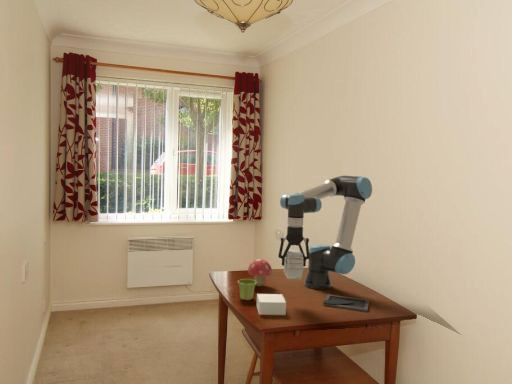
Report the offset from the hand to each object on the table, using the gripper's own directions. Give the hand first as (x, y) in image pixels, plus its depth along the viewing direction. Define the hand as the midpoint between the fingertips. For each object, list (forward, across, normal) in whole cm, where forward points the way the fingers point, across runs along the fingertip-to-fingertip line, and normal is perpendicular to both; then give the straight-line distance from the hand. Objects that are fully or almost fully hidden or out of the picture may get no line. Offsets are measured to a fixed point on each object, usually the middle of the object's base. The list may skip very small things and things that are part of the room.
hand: (293, 272), depth 206 cm
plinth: (+15, -11, -12) cm, 22 cm away
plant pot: (+15, -23, +4) cm, 28 cm away
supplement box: (+2, 0, 0) cm, 2 cm away
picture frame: (+17, +27, +4) cm, 32 cm away
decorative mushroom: (+16, -17, +26) cm, 34 cm away
